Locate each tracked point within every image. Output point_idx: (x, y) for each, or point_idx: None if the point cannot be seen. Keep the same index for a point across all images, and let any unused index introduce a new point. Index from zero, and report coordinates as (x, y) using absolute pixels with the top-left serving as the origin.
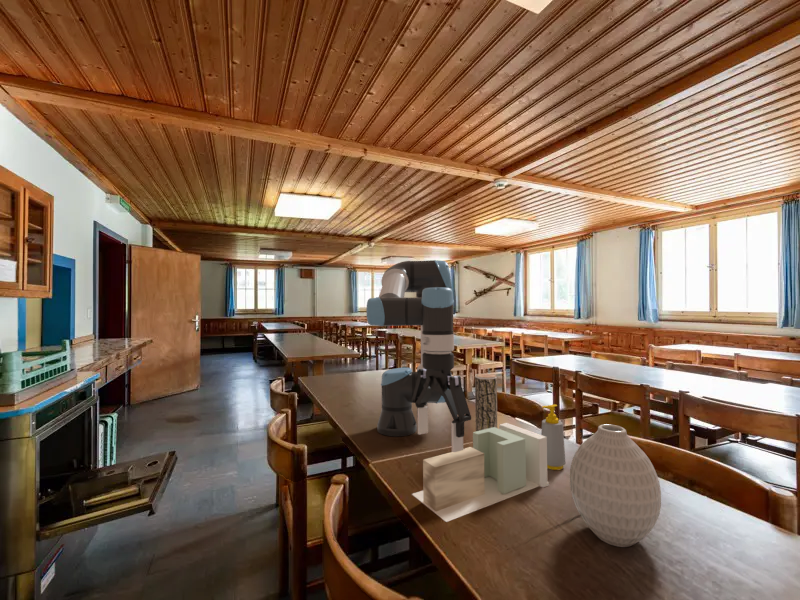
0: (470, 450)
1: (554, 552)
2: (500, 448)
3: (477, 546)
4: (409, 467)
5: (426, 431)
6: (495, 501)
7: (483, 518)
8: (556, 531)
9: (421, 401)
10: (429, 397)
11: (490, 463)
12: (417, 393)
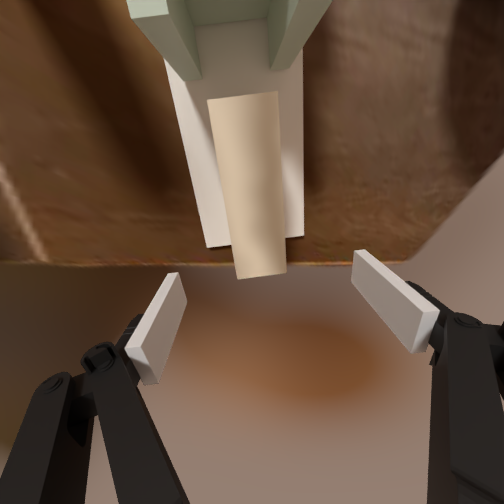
0: (235, 123)
1: (446, 120)
2: (313, 6)
3: (361, 219)
4: (81, 199)
5: (178, 281)
6: (298, 111)
7: (318, 168)
8: (425, 60)
9: (151, 418)
10: (144, 413)
11: (191, 3)
12: (83, 476)
